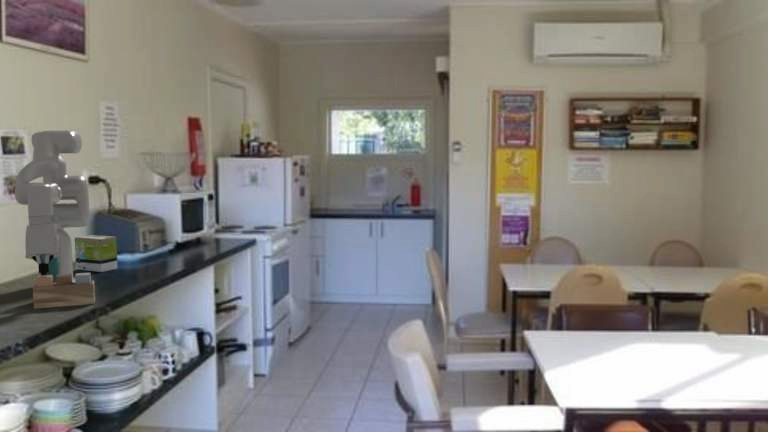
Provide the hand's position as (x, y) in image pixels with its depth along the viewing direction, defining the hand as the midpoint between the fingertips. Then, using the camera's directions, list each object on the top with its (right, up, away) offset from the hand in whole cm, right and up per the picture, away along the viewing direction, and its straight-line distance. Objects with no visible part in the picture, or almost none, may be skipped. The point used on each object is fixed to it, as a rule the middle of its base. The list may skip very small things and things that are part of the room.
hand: (44, 274), depth 237 cm
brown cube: (+6, -5, +3) cm, 8 cm away
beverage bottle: (-3, -10, +12) cm, 15 cm away
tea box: (-12, -4, +73) cm, 75 cm away
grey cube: (+11, -5, +5) cm, 13 cm away
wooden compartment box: (+6, -10, +3) cm, 12 cm away
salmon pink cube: (0, -6, +1) cm, 6 cm away
